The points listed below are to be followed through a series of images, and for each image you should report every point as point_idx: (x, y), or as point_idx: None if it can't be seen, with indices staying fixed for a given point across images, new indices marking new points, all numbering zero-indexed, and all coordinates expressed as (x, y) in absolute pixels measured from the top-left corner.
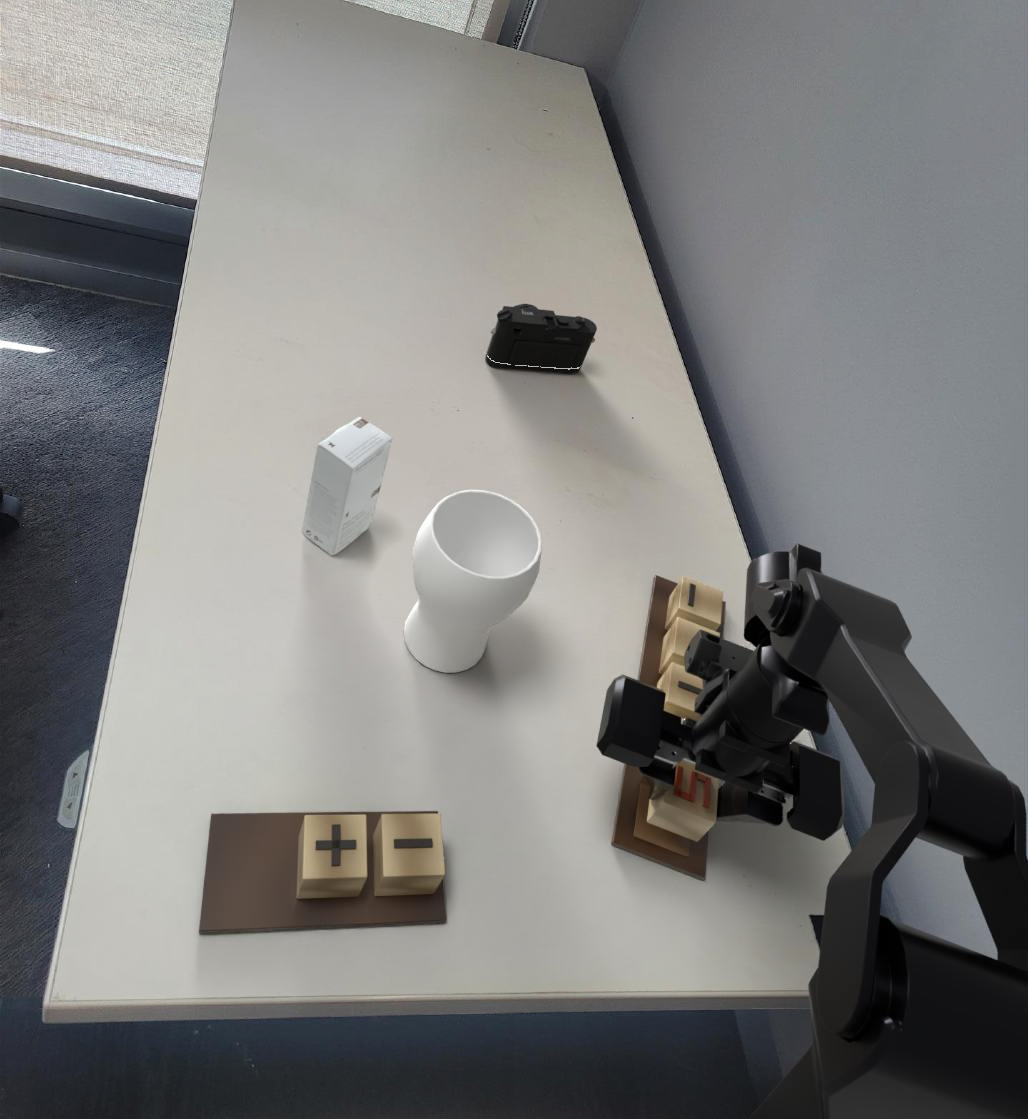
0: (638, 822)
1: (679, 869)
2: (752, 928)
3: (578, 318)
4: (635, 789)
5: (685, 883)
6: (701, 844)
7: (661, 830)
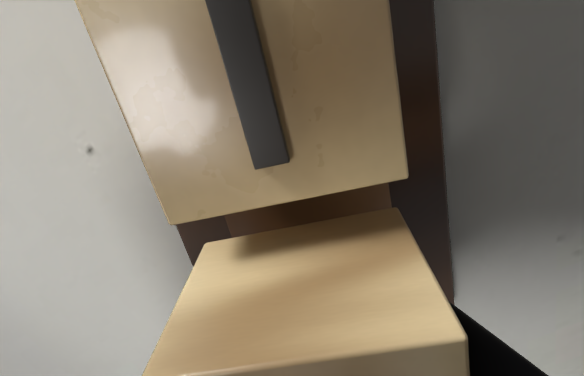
0: None
1: None
2: (580, 327)
3: None
4: (211, 217)
5: None
6: (432, 249)
7: None
